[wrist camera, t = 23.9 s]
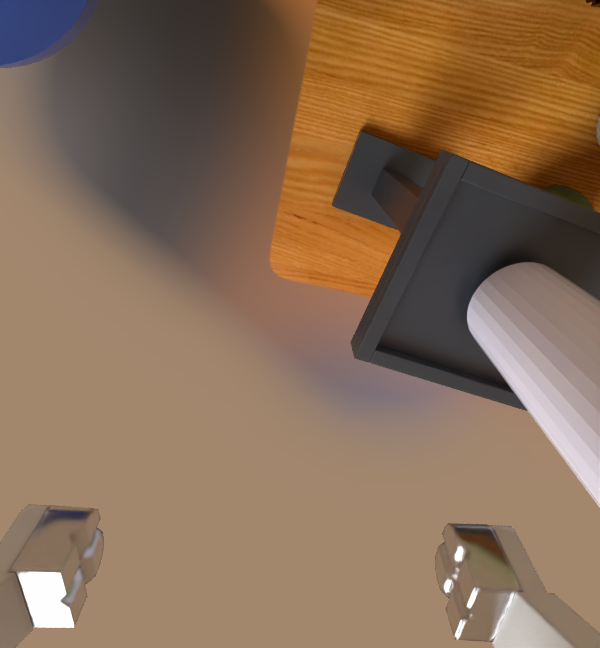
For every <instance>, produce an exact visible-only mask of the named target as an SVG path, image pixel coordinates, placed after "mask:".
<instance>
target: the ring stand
mask: <svg viewBox="0 0 600 648" xmlns="http://www.w3.org/2000/svg"><path fill="white" fill-rule="evenodd" d="M586 2H587V3H589V2H592V5H591V6H593V7H600V0H586Z"/></svg>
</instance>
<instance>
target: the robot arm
mask: <svg viewBox="0 0 600 648" xmlns="http://www.w3.org/2000/svg"><path fill="white" fill-rule="evenodd" d="M99 521H100V515H99V510H98V509H94V508H80V507H66V506H51V505H34V504H29V505H27V506H26V507H25V508H24V509H22V510H21V512H20V513H19V515H18V516H17V518H16V520H15V521H14V522H13V524H12V525H11V527H10V528H9V530H8V532H7V533H6V534H5V536H4V538H3V539H2V541H1V542H0V648H15V647H16V646H17V645H18V644H19V643H20V642H21V641H22V640H23V639H24V638H25V637H26V636H28V634H30V632H32V630H33V627H75V624H76V622H77V620H78V617H79V615H80V612H81V610H82V607H83V605H84V603H85V600H86V598H87V592H86V587H85V585H86V584H87V583H88V582H89V581H90V580H92V579H93V578H94V577H95V576H96V574H97V571H98V569H99V566H100V563H101V559H102V555H103V550H104V536H103V532H102V531H101V530H100V529H98V528H97V525H98V523H99ZM442 535H443V538H444V541H445V542H444V543H442V544H441V545H439V546H438V548H437V552H436V556H435V570H436V576H437V581H438V584H439V588H440V590H441V591H442V592H443V593H444V594H445V595H446V596H447V597H448V598H449V601H448V604H447V607H446V612H447V615H448V618H449V622H450V625H451V628H452V631H453V635H454V638H455V640H470V641H485V642H493V643H492V645H493V646H494V647H495V648H600V633H599V632H598V631H597V630H596V629H595V628H593V627H592V626H591V625H590V624H589V623H588V622H586V621H585V620H584V619H583V618H582V617H581V616H579V615H578V614H577V613H576V612H575V611H574V610H573V609H571V608H570V607H569V606H568V605H567V604H566V603H564V602H563V601H562V600H561V599H560V598H559V597H558V596H556V595H555V594H554V593H547V591H546V590H545V587H544V586H543V583H542V582H541V580H540V578H539V576H538V574H537V572H536V570H535V568H534V566H533V564H532V562H531V560H530V558H529V556H528V554H527V552H526V551H525V549H524V547H523V545H522V543H521V541H520V539H519V537H518V535H517V533H516V531H515V530H514V529H513V528H512V527H511V526H496V525H495V526H494V525H483V524H482V525H481V524H450V523H448V524H447V525H446V526H445V527H444V530H443V533H442Z"/></svg>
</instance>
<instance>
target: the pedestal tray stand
mask: <svg viewBox="0 0 600 648" xmlns="http://www.w3.org/2000/svg"><path fill="white" fill-rule="evenodd" d="M332 206H333V207H336V208H339V209H341V210H344V211H347V212H350V213H352V214H355V215H358V216H361V217H363V218H366V219H369V220H372V221H374V222H377V223H380V224H383V225H385V226H388V227H391V228H394V229H396V230H399V232H400V233H401V236H400V238H399V240H398V242H397V244H396V247H395V249H394V251H393V253H392V255H391V257H390V259H389V261H388V264H387V266H386V268H385V270H384V272H383V274H382V276H381V279H380V281H379V283H378V285H377V287H376V289H375V291H374V293H373V296H372V298H371V300H370V302H369V304H368V306H367V308H366V311H365V313H364V315H363V317H362V319H361V321H360V323H359V326H358V328H357V330H356V332H355V334H354V336H353V338H352V340H351V346H352V350H353V354H354V358H355V359H359V360H362V361H365V362H370V363H372V364H376V365H379V366H382V367H385V368H389V369H392V370H395V371H398V372H401V373H405V374H408V375H411V376H415V377H418V378H421V379H424V380H428V381H431V382H435V383H438V384H441V385H444V386H447V387H451V388H454V389H457V390H460V391H464V392H467V393H470V394H473V395H477V396H480V397H483V398H486V399H490V400H493V401H497V402H500V403H503V404H506V405H509V406H513V407H516V408H519V409H522V410H525V411H528V410H527V409H526V408H525V406H524V405H523V404H522V402H521V401H520V399H519V398H518V397H517V395H516V394H515V393H514V391H513V390H512V389H511V387H510V386H509V385H508V383H507V382H506V381H505V379H504V378H503V377H502V375H501V374H500V373H499V371H498V370H497V368H496V367H495V366H494V364H493V363H492V362H491V360H490V359H489V358H488V356H487V355H486V354H485V352H484V351H483V350H482V348H481V347H480V346H479V344H478V343H477V341H476V340H475V339H474V337H473V336H472V334H471V332H470V330H469V327H468V323H467V311H468V306H469V303H470V301H471V298H472V296H473V294H474V293H475V291H476V290H477V288H478V287H479V286H480V285H481V284H482V283H483V281H484V280H485V279H487V278H488V277H489V276H491V275H492V274H493V273H495V272H496V271H498V270H500V269H502V268H504V267H507V266H510V265H513V264H517V263H523V262H535V263H539V264H544V265H546V266H548V267H550V268H552V269H554V270H555V271H557V272H558V273H560V274H561V275H563V276H564V277H566V278H567V279H568V280H570V281H571V282H573V283H574V284H576V285H577V286H579V287H580V288H582V289H583V290H585V291H586V292H588V293H589V294H591V295H592V296H594V297H595V298H597V299H598V300H600V213H599V212H596V211H594V210H591V209H589V208H587V207H584V206H582V205H579V204H577V203H574V202H572V201H569V200H567V199H564V198H562V197H559V196H557V195H554V194H552V193H549V192H547V191H544V190H542V189H539V188H537V187H534V186H532V185H530V184H527V183H525V182H522V181H520V180H517V179H515V178H512V177H510V176H507V175H505V174H502V173H500V172H497V171H495V170H492V169H490V168H487V167H485V166H482V165H480V164H477V163H475V162H472V161H470V160H468V159H465V158H463V157H460V156H458V155H455V154H453V153H450V152H447V151H445V150H440V153H439V155H438V157H437V159H436V160H433V159H431V158H428V157H426V156H423V155H421V154H418V153H416V152H413V151H411V150H408V149H406V148H403V147H401V146H398V145H396V144H393V143H391V142H388V141H386V140H383V139H381V138H378V137H376V136H373V135H371V134H368V133H365V132H363V131H360V132H359V135H358V137H357V140H356V142H355V145H354V148H353V150H352V153H351V155H350V158H349V161H348V163H347V166H346V168H345V171H344V174H343V176H342V179H341V181H340V184H339V186H338V189H337V192H336V194H335V197H334V199H333V202H332Z"/></svg>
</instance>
